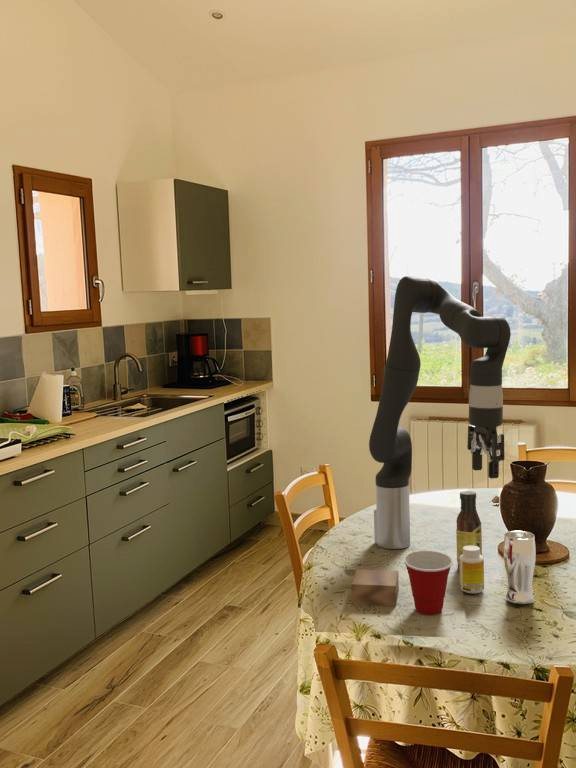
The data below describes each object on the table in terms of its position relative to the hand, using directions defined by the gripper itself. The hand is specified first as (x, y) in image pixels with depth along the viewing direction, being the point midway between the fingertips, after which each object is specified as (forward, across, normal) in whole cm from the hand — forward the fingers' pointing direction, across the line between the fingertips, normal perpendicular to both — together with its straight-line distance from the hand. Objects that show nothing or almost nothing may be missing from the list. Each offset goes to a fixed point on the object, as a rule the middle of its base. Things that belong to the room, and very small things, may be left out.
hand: (485, 473), depth 174 cm
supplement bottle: (+28, +2, +2) cm, 29 cm away
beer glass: (+28, -7, -6) cm, 29 cm away
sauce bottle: (+28, +15, -3) cm, 32 cm away
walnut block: (+29, +4, +25) cm, 39 cm away
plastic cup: (+28, -7, +16) cm, 34 cm away
